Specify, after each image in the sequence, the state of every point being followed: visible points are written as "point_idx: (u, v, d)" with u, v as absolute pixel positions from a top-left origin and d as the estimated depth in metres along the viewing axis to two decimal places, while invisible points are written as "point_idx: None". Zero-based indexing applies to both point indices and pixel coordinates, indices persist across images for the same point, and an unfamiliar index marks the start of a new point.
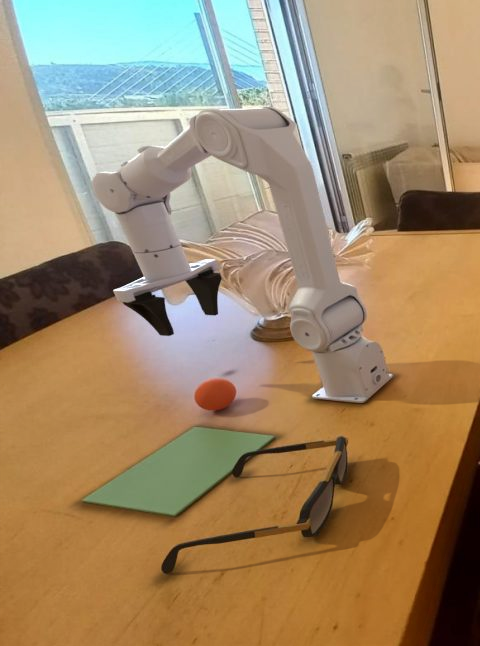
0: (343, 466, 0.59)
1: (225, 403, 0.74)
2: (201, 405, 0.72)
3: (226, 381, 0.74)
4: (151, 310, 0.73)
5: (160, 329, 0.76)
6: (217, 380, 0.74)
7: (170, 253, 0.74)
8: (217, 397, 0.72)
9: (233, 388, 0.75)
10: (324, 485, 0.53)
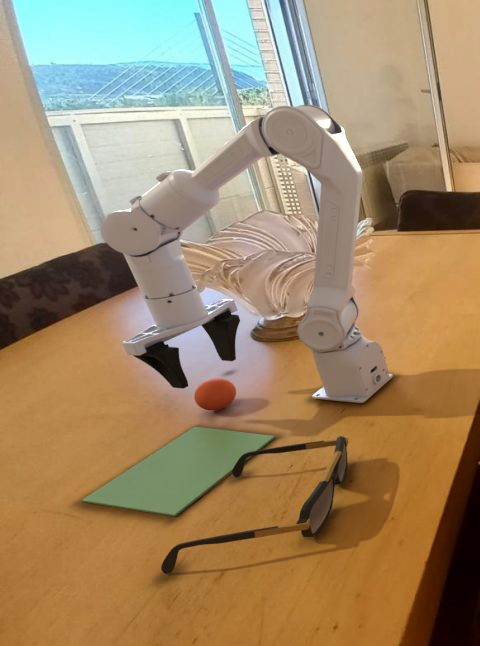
0: (343, 466, 0.59)
1: (225, 403, 0.74)
2: (201, 405, 0.72)
3: (226, 381, 0.74)
4: (164, 362, 0.65)
5: (173, 381, 0.68)
6: (217, 380, 0.74)
7: (185, 298, 0.67)
8: (217, 397, 0.72)
9: (233, 388, 0.75)
10: (324, 485, 0.53)
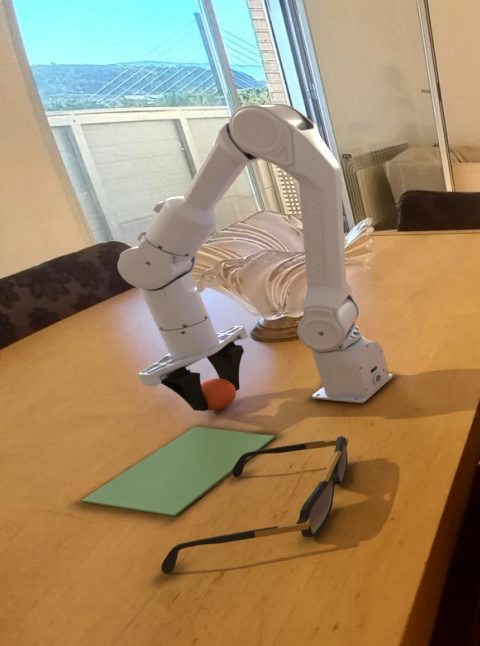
0: (343, 466, 0.59)
1: (225, 403, 0.74)
2: None
3: (225, 381, 0.74)
4: (186, 387, 0.68)
5: (194, 404, 0.71)
6: (217, 380, 0.74)
7: (198, 328, 0.69)
8: (216, 397, 0.72)
9: (233, 388, 0.75)
10: (324, 485, 0.53)
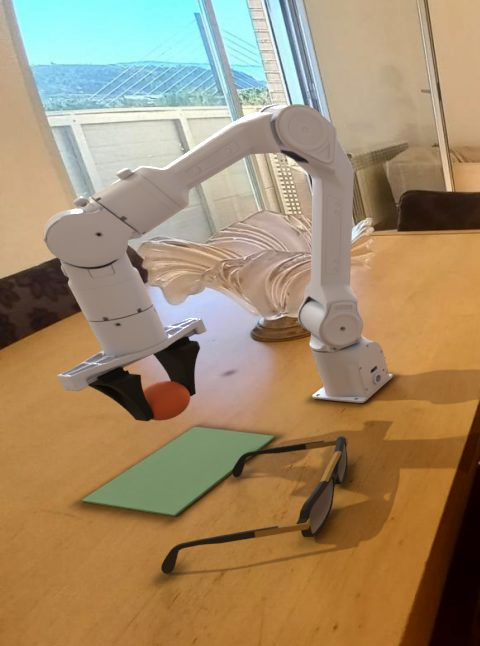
0: (343, 466, 0.59)
1: (175, 412, 0.61)
2: None
3: (176, 385, 0.61)
4: (122, 392, 0.55)
5: (136, 413, 0.58)
6: (165, 383, 0.61)
7: (138, 320, 0.55)
8: (164, 404, 0.59)
9: (186, 393, 0.62)
10: (324, 485, 0.53)
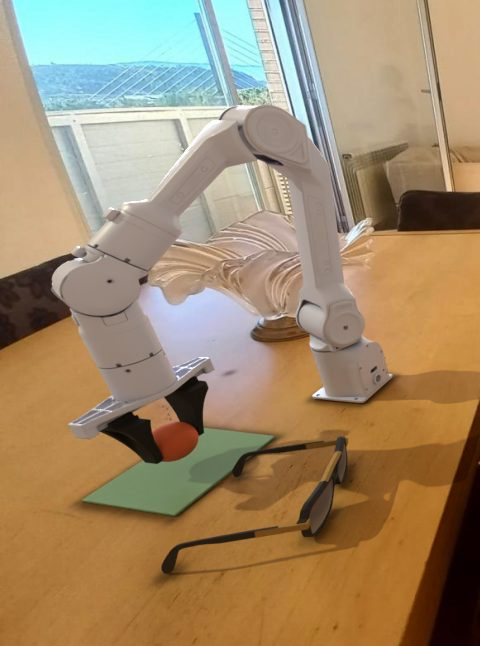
0: (343, 466, 0.59)
1: (184, 453, 0.61)
2: None
3: (185, 425, 0.61)
4: (132, 438, 0.55)
5: (145, 456, 0.58)
6: (174, 425, 0.61)
7: (148, 365, 0.56)
8: (173, 446, 0.59)
9: (194, 434, 0.62)
10: (324, 485, 0.53)
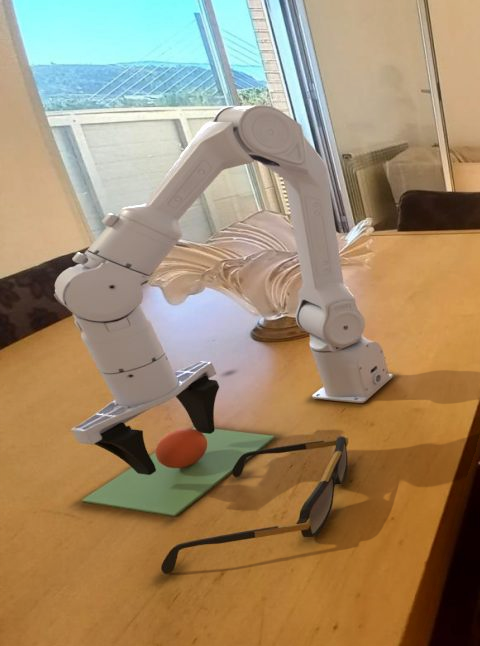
0: (343, 466, 0.59)
1: (191, 460, 0.62)
2: (162, 460, 0.60)
3: (198, 433, 0.63)
4: (124, 449, 0.55)
5: (137, 467, 0.58)
6: (188, 431, 0.62)
7: (150, 370, 0.56)
8: (183, 451, 0.61)
9: (205, 442, 0.63)
10: (324, 485, 0.53)
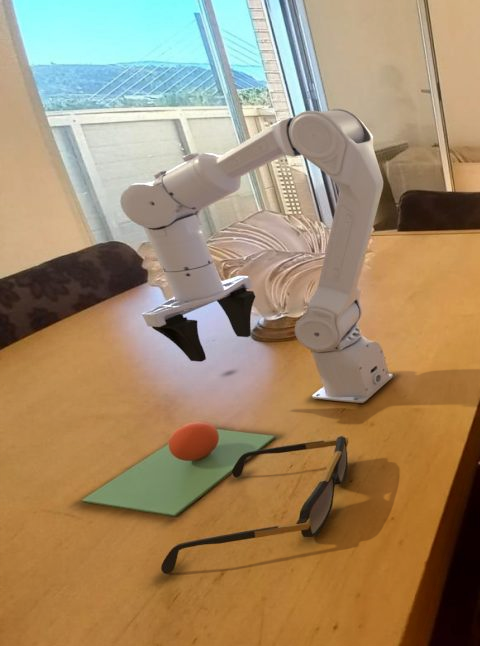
0: (343, 466, 0.59)
1: (198, 453, 0.62)
2: (175, 442, 0.61)
3: None
4: (183, 334, 0.66)
5: (191, 354, 0.69)
6: (211, 425, 0.65)
7: (203, 271, 0.68)
8: (199, 439, 0.62)
9: (217, 442, 0.64)
10: (324, 485, 0.53)
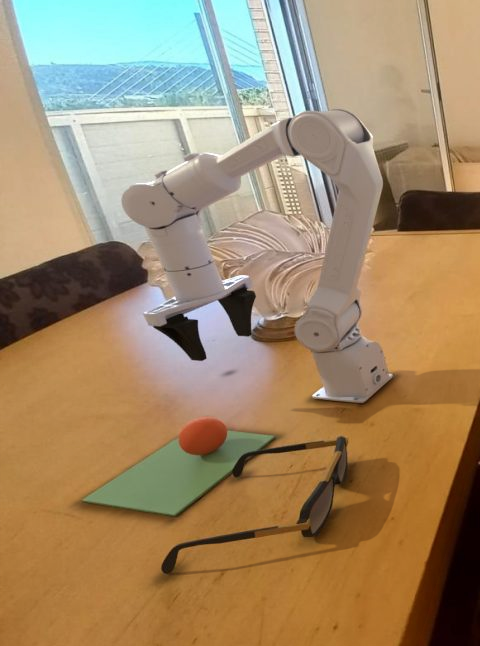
0: (343, 466, 0.59)
1: (205, 445, 0.63)
2: (190, 429, 0.62)
3: None
4: (183, 334, 0.67)
5: (192, 354, 0.70)
6: None
7: (204, 271, 0.68)
8: (212, 432, 0.63)
9: (223, 442, 0.65)
10: (324, 485, 0.53)
